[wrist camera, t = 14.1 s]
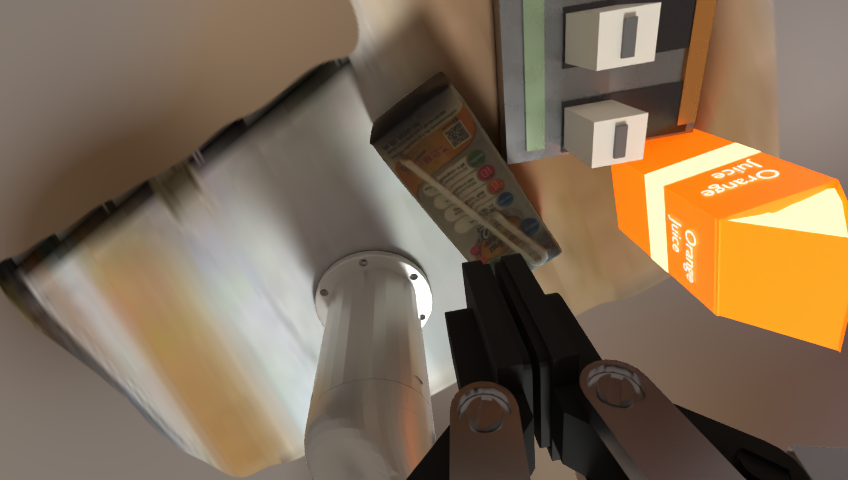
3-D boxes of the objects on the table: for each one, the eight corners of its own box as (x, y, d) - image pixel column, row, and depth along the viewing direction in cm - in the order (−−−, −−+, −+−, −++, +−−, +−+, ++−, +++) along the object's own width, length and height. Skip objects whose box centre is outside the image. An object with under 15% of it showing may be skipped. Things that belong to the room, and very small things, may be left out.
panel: (678, 127, 38) (695, 133, 36) (501, 158, 38) (508, 165, 36) (721, -138, 29) (746, -149, 27) (487, -98, 29) (495, -106, 27)
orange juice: (617, 229, 43) (777, 372, 26) (608, 153, 39) (791, 263, 21) (690, 204, 42) (905, 334, 25) (689, 124, 38) (946, 213, 21)
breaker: (608, 140, 36) (645, 160, 31) (563, 147, 36) (593, 169, 31) (611, 99, 34) (650, 113, 29) (564, 107, 34) (596, 123, 29)
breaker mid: (614, 54, 32) (656, 61, 27) (564, 63, 32) (598, 71, 27) (617, 4, 31) (664, 2, 26) (565, 13, 31) (602, 12, 26)
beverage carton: (481, 265, 44) (495, 302, 38) (366, 123, 36) (362, 143, 30) (544, 224, 42) (569, 256, 37) (439, 64, 34) (450, 74, 28)
